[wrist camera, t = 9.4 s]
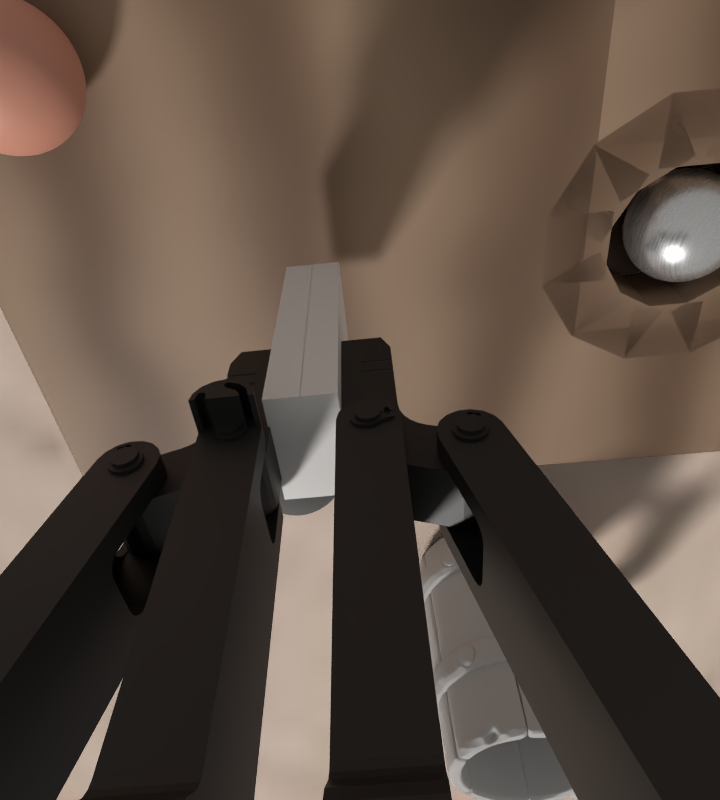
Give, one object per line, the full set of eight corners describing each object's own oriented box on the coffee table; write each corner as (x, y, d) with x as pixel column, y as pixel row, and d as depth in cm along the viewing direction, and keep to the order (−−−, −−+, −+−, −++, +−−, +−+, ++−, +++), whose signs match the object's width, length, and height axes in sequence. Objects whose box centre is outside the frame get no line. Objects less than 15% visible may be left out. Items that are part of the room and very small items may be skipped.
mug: (501, 493, 29) (578, 765, 19) (625, 605, 34) (736, 864, 24) (381, 567, 32) (394, 834, 22) (511, 659, 37) (569, 909, 27)
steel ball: (744, 279, 20) (655, 238, 22) (791, 176, 18) (686, 141, 20) (677, 315, 19) (589, 268, 21) (716, 209, 17) (613, 169, 19)
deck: (113, 460, 27) (94, 499, 25) (-102, -31, 17) (-165, -30, 15) (803, 404, 26) (842, 441, 24) (1036, -170, 15) (1140, -190, 13)
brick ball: (2, 144, 17) (-68, 180, 14) (-60, -4, 15) (-156, 3, 12) (123, 131, 17) (77, 165, 14) (78, -20, 15) (13, -17, 12)
